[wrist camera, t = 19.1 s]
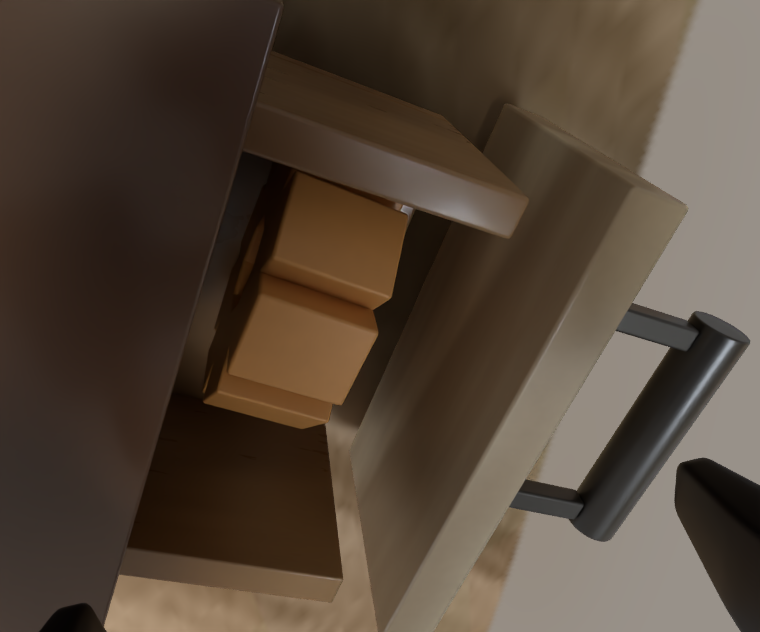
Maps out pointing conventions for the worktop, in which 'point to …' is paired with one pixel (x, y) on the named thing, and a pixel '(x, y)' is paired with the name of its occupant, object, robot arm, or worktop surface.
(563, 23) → the worktop surface
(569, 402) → the drawer
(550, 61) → the worktop surface
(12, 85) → the cabinet
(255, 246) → the wooden gear wheel
